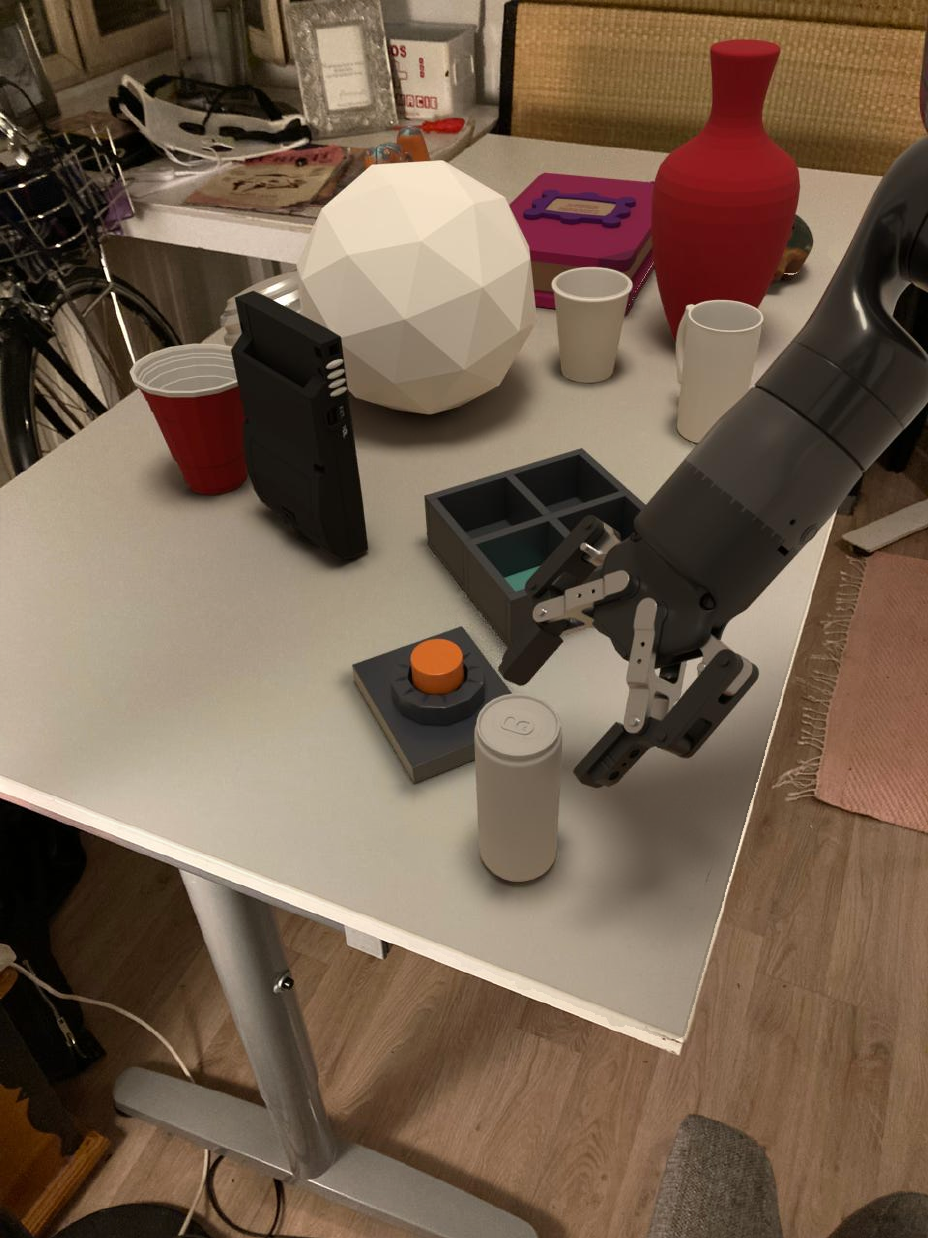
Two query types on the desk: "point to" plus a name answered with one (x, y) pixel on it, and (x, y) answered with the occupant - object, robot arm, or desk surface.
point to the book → (585, 229)
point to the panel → (429, 706)
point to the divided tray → (521, 528)
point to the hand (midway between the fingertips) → (545, 727)
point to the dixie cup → (589, 320)
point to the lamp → (413, 286)
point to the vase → (725, 193)
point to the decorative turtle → (795, 250)
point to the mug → (714, 361)
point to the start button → (437, 667)
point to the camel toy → (399, 149)
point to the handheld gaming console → (299, 424)
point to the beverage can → (518, 785)
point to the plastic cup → (197, 412)
